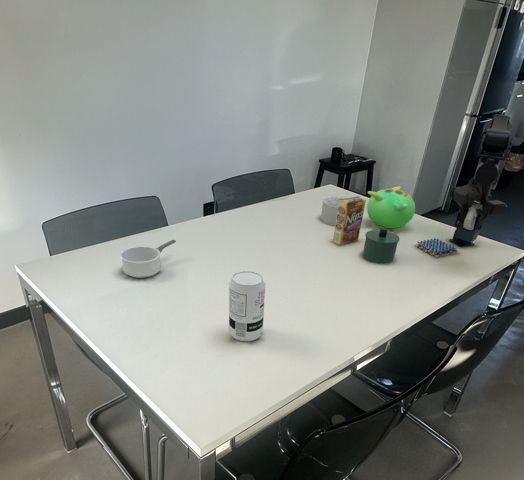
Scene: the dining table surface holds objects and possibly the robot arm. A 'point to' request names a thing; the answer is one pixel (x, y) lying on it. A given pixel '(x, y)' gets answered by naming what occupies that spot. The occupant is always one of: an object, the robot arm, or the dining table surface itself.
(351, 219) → the candy box
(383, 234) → the pot lid
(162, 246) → the saucepan
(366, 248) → the pot
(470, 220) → the watch
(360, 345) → the dining table surface
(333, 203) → the lumpy-topped squat cylinder
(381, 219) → the green toy creature
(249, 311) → the supplement can
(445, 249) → the woven mat
